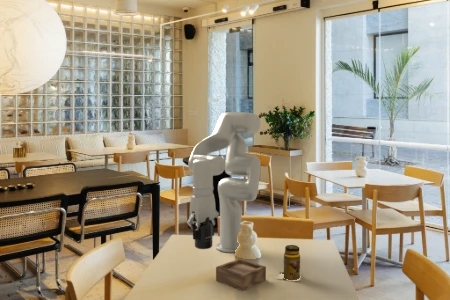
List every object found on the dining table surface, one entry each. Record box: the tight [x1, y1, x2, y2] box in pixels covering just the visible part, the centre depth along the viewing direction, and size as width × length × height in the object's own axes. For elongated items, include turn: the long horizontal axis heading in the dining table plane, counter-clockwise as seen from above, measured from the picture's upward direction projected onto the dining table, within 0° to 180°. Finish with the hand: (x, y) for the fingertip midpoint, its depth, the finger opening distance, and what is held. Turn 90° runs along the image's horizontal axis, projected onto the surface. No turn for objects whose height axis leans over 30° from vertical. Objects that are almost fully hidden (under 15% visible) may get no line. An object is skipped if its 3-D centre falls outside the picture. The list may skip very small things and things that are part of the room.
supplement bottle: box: [194, 217, 213, 250], centre depth 187 cm, size 7×7×12 cm
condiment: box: [278, 244, 303, 280], centre depth 184 cm, size 7×8×12 cm
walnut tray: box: [215, 258, 267, 291], centre depth 181 cm, size 13×13×5 cm
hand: (203, 237), depth 187 cm, fingers closed on supplement bottle, 6 cm apart
